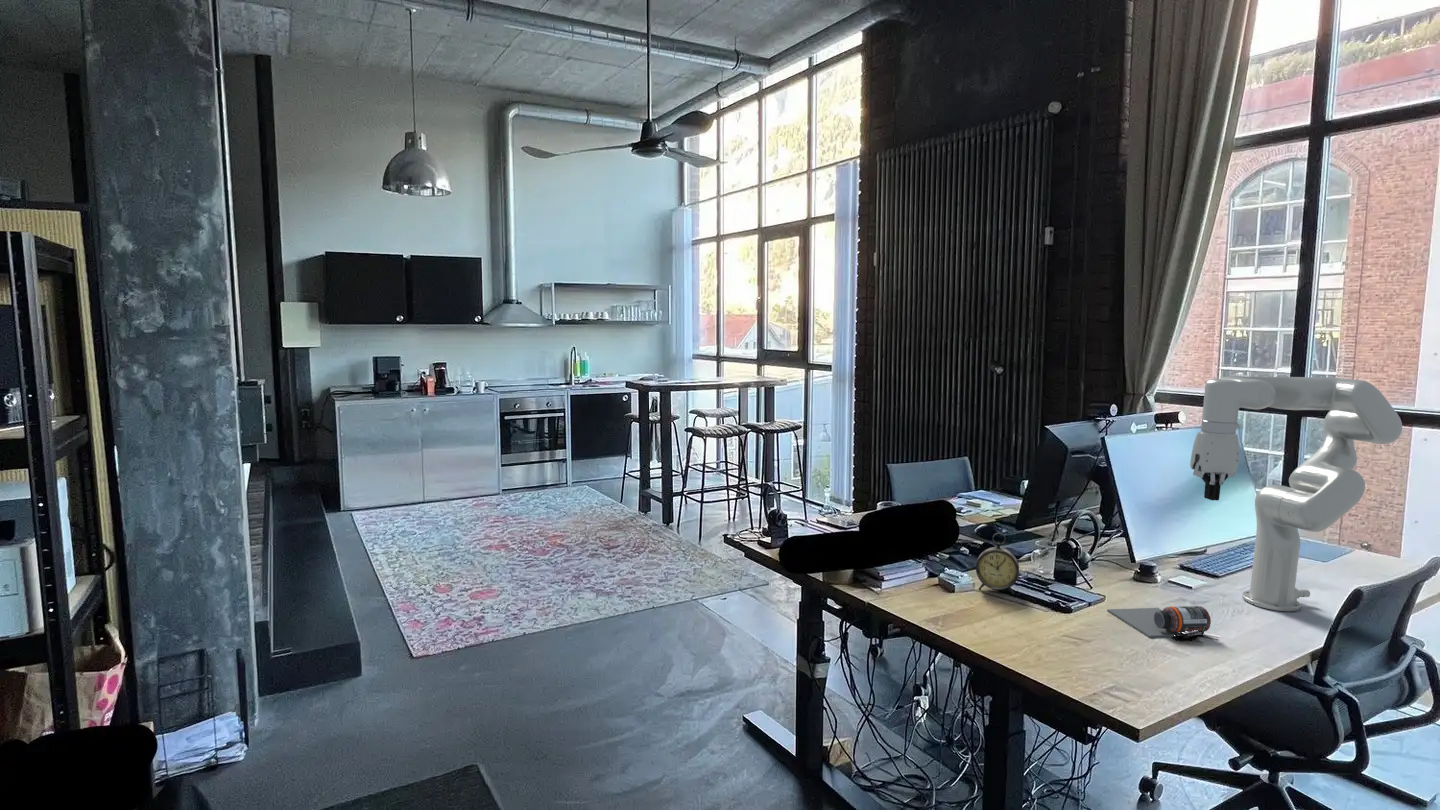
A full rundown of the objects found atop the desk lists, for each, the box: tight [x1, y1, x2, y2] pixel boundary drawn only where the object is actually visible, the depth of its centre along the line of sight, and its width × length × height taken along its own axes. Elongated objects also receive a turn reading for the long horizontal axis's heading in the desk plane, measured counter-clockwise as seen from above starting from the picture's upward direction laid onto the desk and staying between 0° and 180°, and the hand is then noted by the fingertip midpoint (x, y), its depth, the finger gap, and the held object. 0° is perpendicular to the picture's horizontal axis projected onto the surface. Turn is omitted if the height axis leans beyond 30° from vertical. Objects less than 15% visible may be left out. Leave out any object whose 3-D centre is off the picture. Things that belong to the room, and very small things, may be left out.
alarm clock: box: [975, 532, 1020, 595], centre depth 209 cm, size 11×5×16 cm, turn 68°
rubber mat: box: [1106, 607, 1175, 639], centre depth 190 cm, size 14×16×1 cm
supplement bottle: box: [1154, 605, 1212, 633], centre depth 184 cm, size 6×6×11 cm
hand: (1211, 499), depth 196 cm, fingers closed
